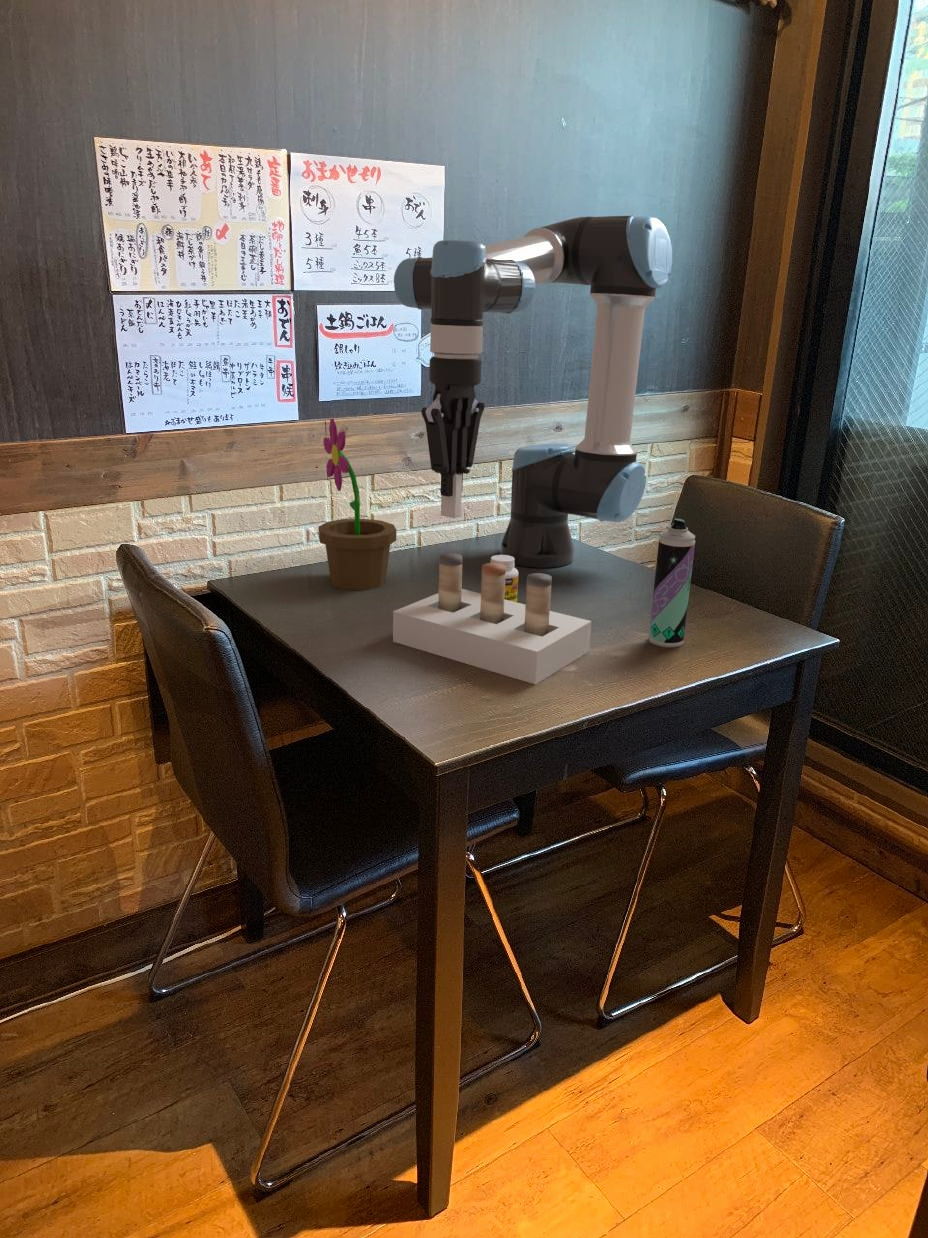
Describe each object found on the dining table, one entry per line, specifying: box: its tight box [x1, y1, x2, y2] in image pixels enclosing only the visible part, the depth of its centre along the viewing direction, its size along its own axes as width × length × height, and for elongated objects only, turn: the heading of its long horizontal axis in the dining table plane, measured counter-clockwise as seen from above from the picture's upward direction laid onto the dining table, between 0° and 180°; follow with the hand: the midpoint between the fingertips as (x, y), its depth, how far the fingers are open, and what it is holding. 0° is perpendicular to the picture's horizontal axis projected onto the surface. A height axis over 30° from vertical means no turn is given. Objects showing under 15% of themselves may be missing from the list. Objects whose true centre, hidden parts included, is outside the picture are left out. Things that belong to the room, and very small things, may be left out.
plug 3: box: [524, 572, 553, 637], centre depth 137 cm, size 4×4×9 cm
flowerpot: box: [318, 418, 397, 591], centre depth 168 cm, size 14×14×30 cm
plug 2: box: [480, 562, 506, 624], centre depth 142 cm, size 4×4×9 cm
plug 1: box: [438, 552, 463, 613], centre depth 146 cm, size 4×4×9 cm
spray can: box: [648, 517, 696, 648], centre depth 146 cm, size 6×6×20 cm
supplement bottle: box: [490, 554, 519, 603], centre depth 156 cm, size 6×6×10 cm
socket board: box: [392, 588, 593, 685], centre depth 144 cm, size 16×26×5 cm, turn 55°
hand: (450, 515), depth 142 cm, fingers closed
